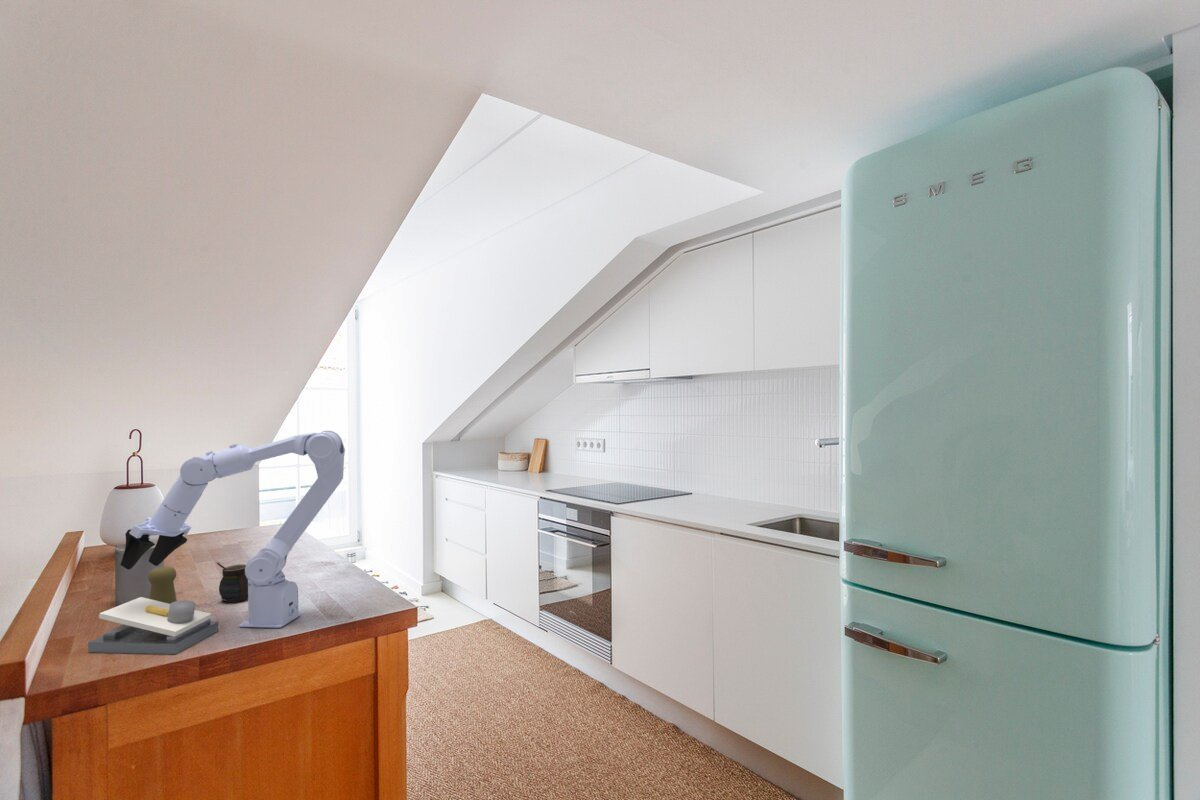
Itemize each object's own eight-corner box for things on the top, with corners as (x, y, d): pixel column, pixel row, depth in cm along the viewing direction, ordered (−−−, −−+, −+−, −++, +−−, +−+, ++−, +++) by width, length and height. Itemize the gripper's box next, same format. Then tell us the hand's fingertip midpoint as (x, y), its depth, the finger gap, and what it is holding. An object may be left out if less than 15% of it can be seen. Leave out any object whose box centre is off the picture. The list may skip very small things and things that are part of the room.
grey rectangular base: (218, 631, 133) (218, 616, 133) (175, 654, 121) (175, 638, 121) (138, 629, 134) (138, 615, 134) (88, 652, 122) (88, 636, 122)
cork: (173, 610, 146) (173, 562, 146) (182, 615, 143) (182, 567, 143) (142, 617, 142) (142, 568, 142) (151, 623, 138) (150, 573, 138)
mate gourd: (259, 598, 155) (258, 557, 154) (226, 607, 148) (225, 565, 148) (244, 592, 159) (243, 553, 158) (212, 601, 152) (211, 560, 152)
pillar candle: (118, 599, 155) (116, 538, 155) (166, 592, 160) (164, 533, 160) (112, 610, 147) (111, 546, 146) (163, 603, 152) (162, 541, 152)
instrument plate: (210, 618, 132) (213, 599, 132) (174, 636, 122) (178, 616, 122) (140, 601, 133) (143, 583, 133) (98, 618, 123) (102, 598, 123)
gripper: (184, 498, 141) (150, 553, 140) (135, 498, 127) (95, 558, 125) (210, 514, 140) (175, 569, 139) (162, 515, 126) (123, 576, 124)
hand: (139, 565), depth 132 cm, fingers open, 7 cm apart
